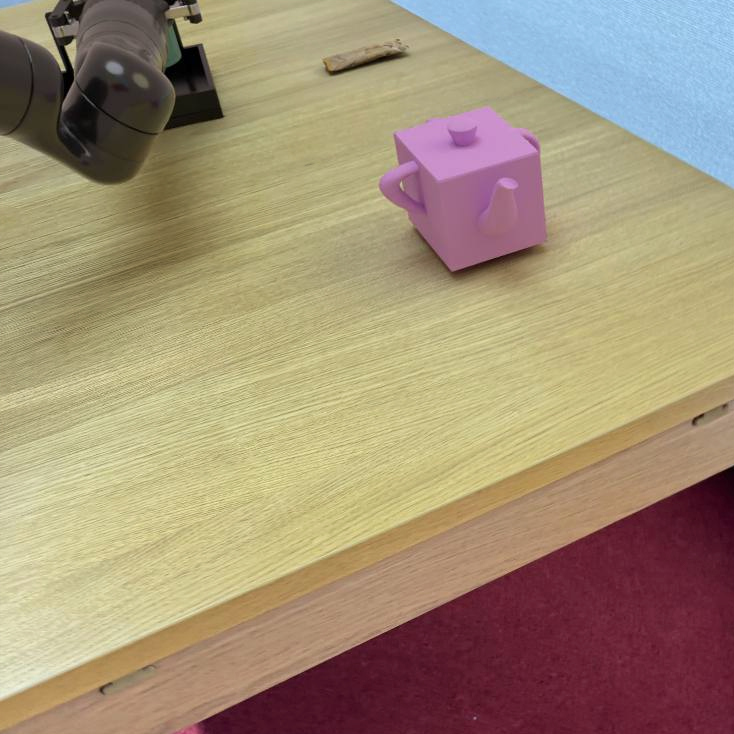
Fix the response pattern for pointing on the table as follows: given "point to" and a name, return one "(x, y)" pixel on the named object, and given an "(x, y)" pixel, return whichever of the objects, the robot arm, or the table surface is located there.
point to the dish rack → (174, 83)
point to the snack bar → (363, 55)
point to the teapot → (469, 186)
